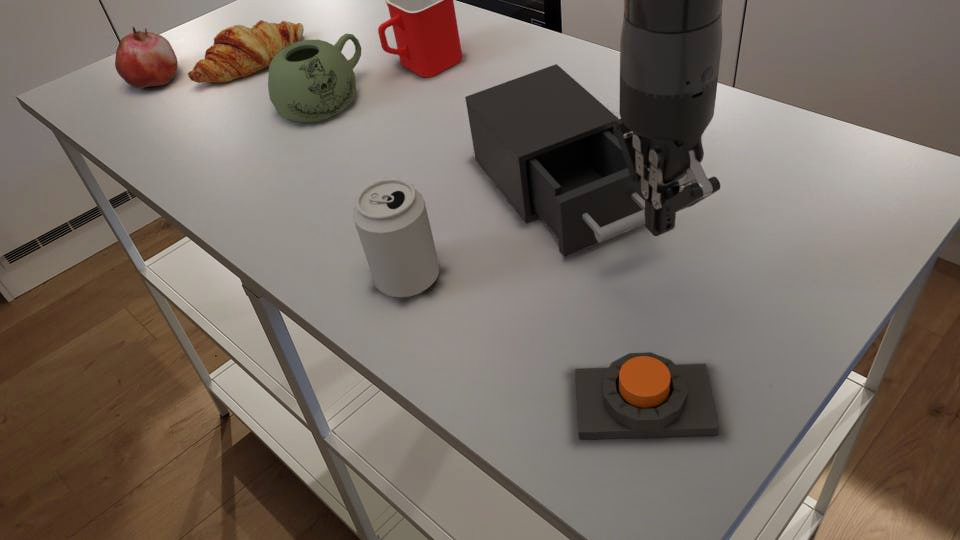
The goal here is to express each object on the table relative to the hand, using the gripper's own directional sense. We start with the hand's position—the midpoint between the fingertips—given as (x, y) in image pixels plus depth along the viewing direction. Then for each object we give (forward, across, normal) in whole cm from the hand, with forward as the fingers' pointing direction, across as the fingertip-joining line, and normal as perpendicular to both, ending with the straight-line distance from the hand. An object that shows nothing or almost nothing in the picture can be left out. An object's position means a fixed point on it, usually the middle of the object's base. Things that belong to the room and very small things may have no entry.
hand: (659, 229), depth 71 cm
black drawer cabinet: (+10, -25, 0) cm, 27 cm away
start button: (+7, +10, -8) cm, 15 cm away
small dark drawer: (+9, -14, 0) cm, 17 cm away
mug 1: (+10, -59, -18) cm, 63 cm away
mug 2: (+10, -59, -3) cm, 60 cm away
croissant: (+10, -78, -26) cm, 82 cm away
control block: (+10, +10, -8) cm, 16 cm away
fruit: (+11, -82, -42) cm, 93 cm away
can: (+10, -17, -21) cm, 29 cm away
